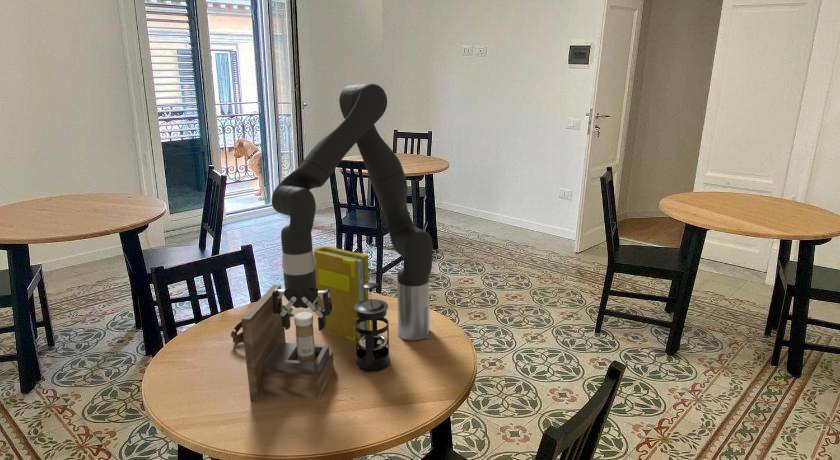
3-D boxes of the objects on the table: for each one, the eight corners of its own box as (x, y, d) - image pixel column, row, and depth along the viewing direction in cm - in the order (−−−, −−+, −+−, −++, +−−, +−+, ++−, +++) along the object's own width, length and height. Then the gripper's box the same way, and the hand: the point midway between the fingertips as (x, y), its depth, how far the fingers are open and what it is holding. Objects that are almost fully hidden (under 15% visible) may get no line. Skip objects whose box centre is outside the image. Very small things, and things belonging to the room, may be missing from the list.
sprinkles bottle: (317, 359, 139) (314, 311, 135) (313, 368, 134) (310, 319, 130) (299, 358, 139) (296, 311, 135) (295, 368, 134) (292, 319, 130)
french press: (358, 352, 152) (355, 276, 145) (391, 352, 151) (390, 276, 144) (352, 375, 140) (348, 294, 134) (387, 376, 140) (386, 294, 133)
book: (370, 332, 163) (368, 254, 155) (356, 342, 157) (353, 261, 150) (328, 319, 171) (324, 244, 164) (313, 327, 166) (308, 251, 158)
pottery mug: (266, 352, 153) (249, 332, 149) (240, 362, 156) (222, 343, 152) (278, 323, 163) (261, 304, 159) (253, 333, 166) (236, 315, 162)
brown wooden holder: (336, 361, 147) (332, 287, 140) (315, 405, 128) (309, 322, 121) (279, 358, 148) (273, 284, 142) (250, 401, 129) (241, 318, 123)
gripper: (332, 262, 131) (336, 322, 136) (275, 261, 133) (281, 320, 138) (324, 274, 124) (328, 337, 129) (264, 273, 126) (271, 335, 131)
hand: (304, 328), depth 133 cm, fingers open, 8 cm apart
